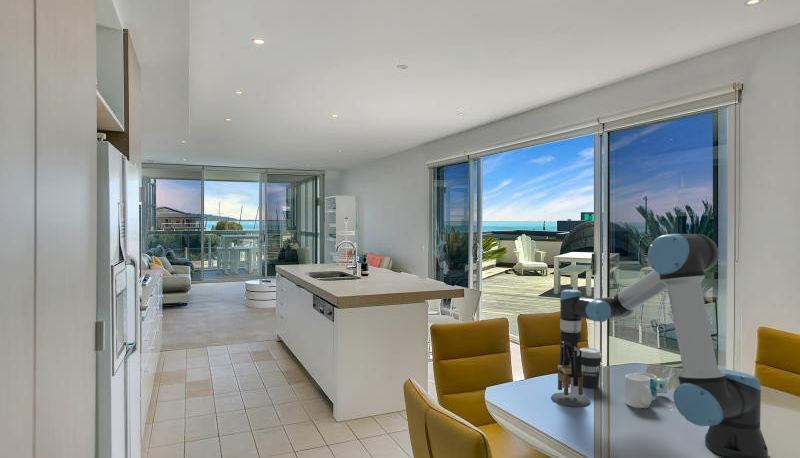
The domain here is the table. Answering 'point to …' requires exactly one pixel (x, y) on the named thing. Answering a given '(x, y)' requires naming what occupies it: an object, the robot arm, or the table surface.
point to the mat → (570, 400)
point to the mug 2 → (655, 384)
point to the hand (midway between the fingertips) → (570, 390)
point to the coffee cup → (590, 367)
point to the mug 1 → (637, 391)
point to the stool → (567, 379)
